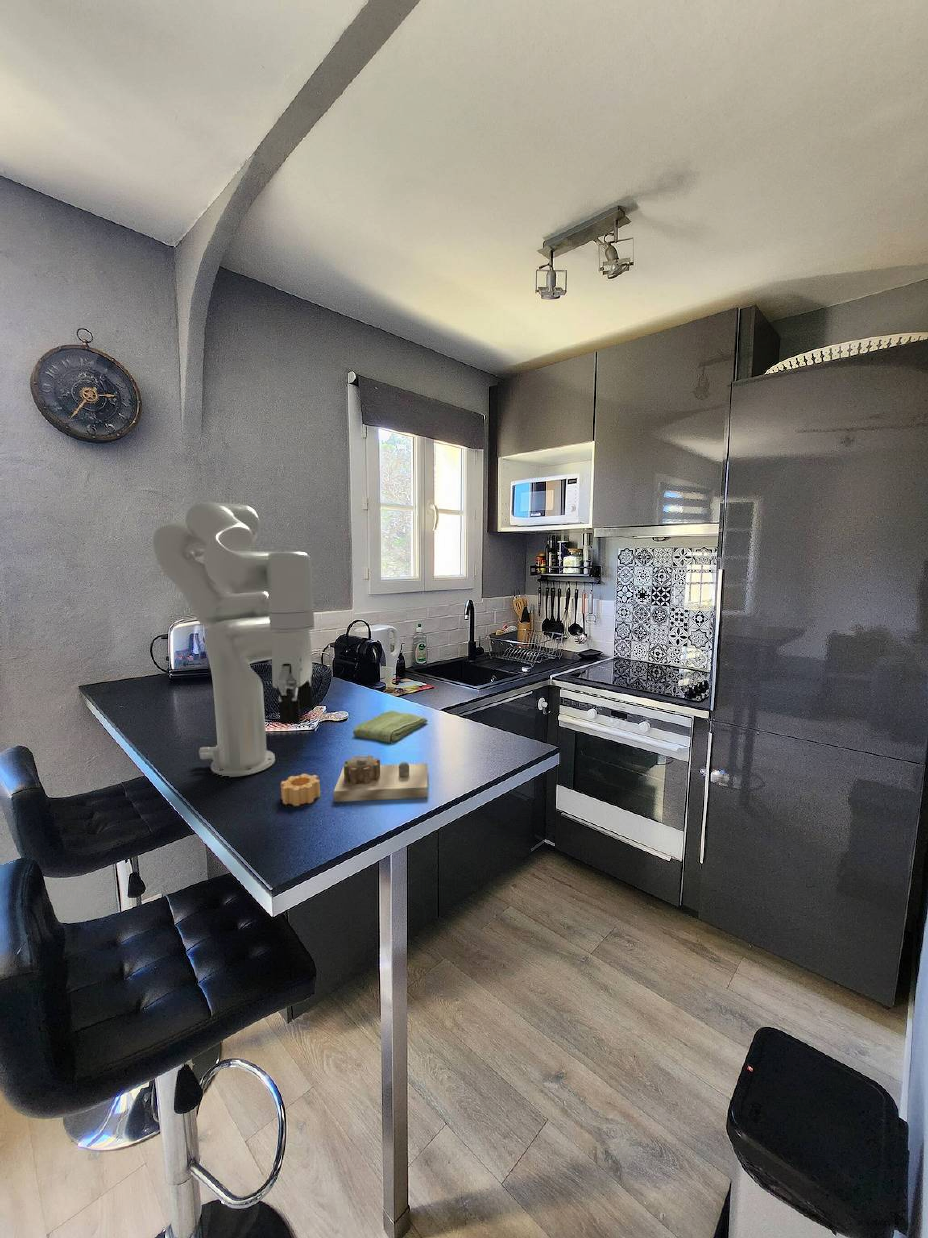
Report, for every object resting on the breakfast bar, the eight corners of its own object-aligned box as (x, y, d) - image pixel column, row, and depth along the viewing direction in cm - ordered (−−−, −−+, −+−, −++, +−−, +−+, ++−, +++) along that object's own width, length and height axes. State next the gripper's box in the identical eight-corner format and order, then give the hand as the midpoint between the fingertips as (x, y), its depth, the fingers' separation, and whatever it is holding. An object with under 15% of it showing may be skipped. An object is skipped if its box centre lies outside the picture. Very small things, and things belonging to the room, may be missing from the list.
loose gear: (277, 806, 90) (276, 790, 90) (287, 789, 97) (286, 774, 96) (315, 805, 90) (314, 789, 90) (323, 787, 97) (322, 773, 97)
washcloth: (430, 724, 135) (429, 712, 135) (392, 746, 119) (392, 733, 119) (389, 718, 141) (389, 706, 140) (348, 738, 125) (348, 726, 125)
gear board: (334, 801, 92) (332, 773, 91) (344, 776, 102) (342, 750, 102) (427, 797, 93) (427, 769, 92) (427, 772, 104) (427, 746, 103)
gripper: (284, 616, 98) (289, 702, 100) (253, 628, 81) (260, 731, 83) (323, 615, 98) (327, 701, 100) (301, 627, 81) (307, 729, 83)
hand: (297, 714), depth 92 cm, fingers open, 9 cm apart
